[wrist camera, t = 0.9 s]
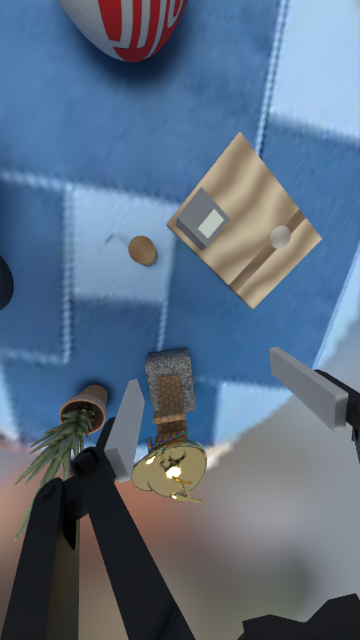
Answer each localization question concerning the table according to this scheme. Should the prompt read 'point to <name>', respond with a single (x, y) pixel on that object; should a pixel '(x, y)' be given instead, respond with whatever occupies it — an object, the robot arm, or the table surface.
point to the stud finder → (202, 219)
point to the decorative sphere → (126, 24)
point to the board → (251, 225)
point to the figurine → (171, 430)
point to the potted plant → (68, 436)
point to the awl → (142, 250)
